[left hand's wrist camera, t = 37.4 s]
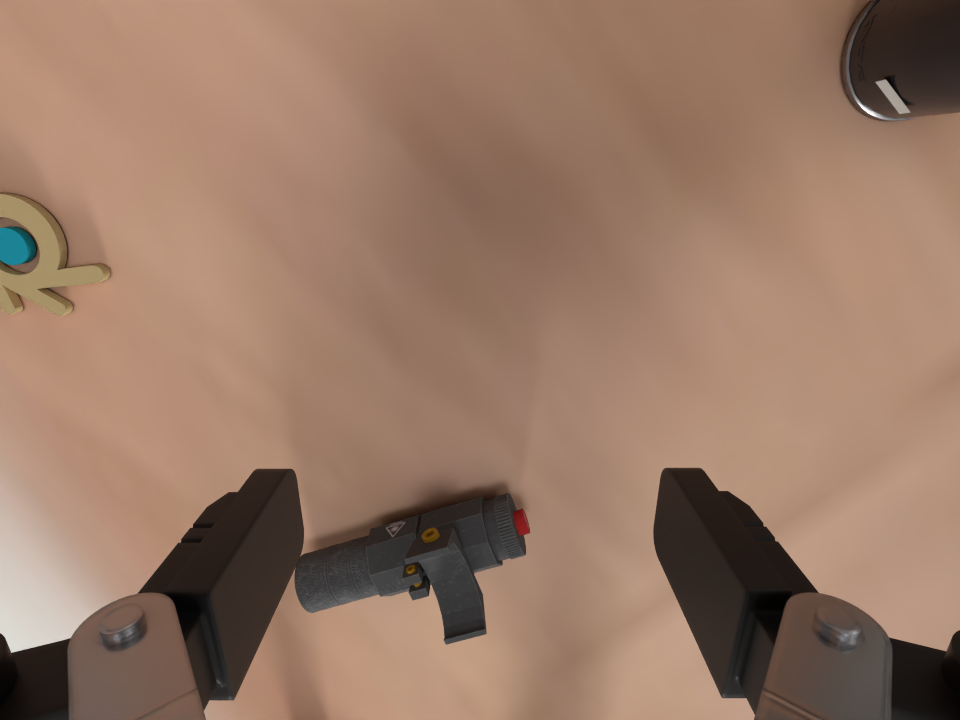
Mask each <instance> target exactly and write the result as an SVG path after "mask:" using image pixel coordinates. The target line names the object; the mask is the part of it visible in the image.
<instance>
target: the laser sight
mask: <svg viewBox="0 0 960 720" xmlns="http://www.w3.org/2000/svg"><path fill="white" fill-rule="evenodd" d="M529 533H530V528H529V524H528V520H527V517H526V514H525V511H524V509H520V510H516V507H515V504H514V502H513V500H512V498H511V496H510V494H509V493H507V494H503V495H500V496H496V497H494V499H491V500H488V501H487V500H486V499H484V498H483V497H478V498H475V499H471V500H468V501H464V502H461V503H458V504H454V505H451V506H447V507H444V508H441V509H437V510H434V511H430V512H427V513H424V514H420V515H417V516H413V517H410V518H407V519H403V520H400V521H396V522H393V523H390V524H386V525H383V526H379V527H376V528H373V529H371V530H370V534H369V536H365V537H361V538H357V539H354V540H351V541H348V542H345V543H341V544H337V545H333V546H331V547H328V548H324V549H321V550H317V551H314V552H310V553H306V554H303V555H302V556H301V557H300V558H299V561H298V563H297V565H296V569H295V588H296V593H297V596H298V599H299V601H300V603H301V605H302V607H303V608H304V609H305V610H306V611H308V612H310V613H314V612H317V611H320V610H324V609H328V608H331V607H335V606H339V605H343V604H346V603H350V602H353V601H356V600H360V599H364V598H368V597H372V596H375V595H378V594H379V595H380V596H392V595H396V594H400V593H403V592H407V591H409V594H410V596H411V598H412V600H416V599H420V598H423V597H427V596H429V591H430V585H432V587H433V590H434V592H435V595H436V597H437V600H438V603H439V607H440V610H441V614H442V619H443V625H444V636H445V638H444V642H445V644H450V643H454V642H458V641H462V640H465V639H469V638H473V637H477V636H481V635H485V634H487V633H486V623H485V613H484V602H483V594H482V592H481V589H480V587H479V585H478V583H477V580H476V578H475V576H474V573H476V572H479V571H483V570H486V569H490V568H494V567H497V566H501V565H503V563H502V560H505V559H509V558H510V559H514V558H517V557H521V556H525V555H526V546H525V539H524V535H525V534H529Z"/></svg>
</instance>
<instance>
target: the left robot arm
mask: <svg viewBox="0 0 960 720" xmlns="http://www.w3.org/2000/svg"><path fill="white" fill-rule="evenodd" d="M841 72H842V81H843V85H844V89H845V91H846V94H847V96H848V98H849V100H850V101H851V102H852V104H853V105H854V106H855V107H856V108H857V109H858V110H859V111H860V112H861V113H863V114H864V115H866V116H868V117H870V118H873V119H876V120H880V121H899V120H907V119H912V118H915V117H922V116H930V115H941V114H950V113H958V112H960V0H872V1H871V2H870V3H869V4H868V5H867V6H866V7H865V8H864V10H863V11H862V12H861V13H860V15H859V16H858V18H857V19H856V21H855V23H854V24H853V26H852V28H851V30H850V32H849V35H848V37H847V40H846V43H845V46H844V50H843V55H842V65H841ZM653 533H654V545H655V550H656V553H657V556H658V559H659V561H660V563H661V565H662V568H663V570H664V572H665V574H666V576H667V579H668V581H669V583H670V585H671V587H672V589H673V592H674V594H675V596H676V598H677V600H678V603H679V605H680V607H681V609H682V611H683V614H684V616H685V618H686V620H687V622H688V625H689V627H690V629H691V631H692V633H693V635H694V638H695V640H696V642H697V644H698V646H699V649H700V651H701V653H702V655H703V657H704V660H705V662H706V664H707V666H708V668H709V671H710V673H711V675H712V677H713V679H714V681H715V684H716V686H717V688H718V690H719V692H720V695H721V697H722V698H747V700H748V702H749V704H750V706H751V708H752V710H753V712H754V714H755V718H754V720H960V630H959V631H957V632H956V633H955V634H954V635H953V637H952V639H951V642H950V644H949V647H948V649H947V651H942V650H938V649H934V648H930V647H925V646H921V645H917V644H913V643H909V642H905V641H901V640H897V639H892V638H889V637H888V635H887V634H886V632H885V631H884V630H883V628H882V627H881V626H880V625H879V624H878V623H877V622H876V621H875V620H874V619H873V618H872V617H870V616H869V615H868V614H867V613H865V612H864V611H862V610H861V609H859V608H857V607H856V606H854V605H852V604H850V603H848V602H846V601H844V600H841V599H839V598H836V597H833V596H829V595H825V594H820V593H818V591H817V590H816V589H815V588H814V586H813V585H812V584H811V583H810V581H809V580H808V579H807V578H806V576H805V575H804V574H803V573H802V571H801V570H800V569H799V567H798V566H797V565H796V564H795V562H794V561H793V560H792V559H791V557H790V556H789V555H788V554H787V552H786V551H785V550H784V549H783V547H782V546H781V545H780V544H779V542H775V537H774V536H773V535H772V534H771V532H770V531H769V530H768V529H767V527H764V526H763V522H762V521H761V520H760V519H759V517H758V516H757V515H756V514H755V512H754V511H753V510H752V509H751V507H750V506H749V505H747V504H746V503H744V502H743V501H741V500H740V499H739V498H737V497H736V496H734V495H733V494H731V493H730V492H728V491H718V489H717V488H716V487H715V485H714V484H713V483H712V481H711V480H710V478H709V477H708V476H707V474H706V473H705V472H704V471H703V470H702V469H701V468H665V469H664V470H663V471H662V474H661V478H660V485H659V492H658V499H657V507H656V514H655V521H654V532H653ZM303 541H304V527H303V520H302V512H301V505H300V498H299V491H298V484H297V478H296V474H295V472H294V470H293V469H256V470H254V471H253V473H252V474H251V475H250V477H249V478H248V479H247V481H246V482H245V483H244V485H243V486H242V487H241V489H240V490H239V491H238V492H229V493H227V494H226V495H224V496H223V497H221V498H220V499H218V500H217V501H215V502H214V503H212V504H211V505H210V506H208V507H207V508H206V509H205V510H204V512H203V513H202V514H201V515H200V517H199V518H198V519H197V520H196V522H195V523H194V524H193V528H190V529H189V530H188V532H187V533H186V534H185V535H184V537H183V538H182V539H181V543H178V544H177V545H176V546H175V548H174V549H173V550H172V551H171V553H170V554H169V555H168V556H167V558H166V559H165V560H164V561H163V563H162V564H161V565H160V566H159V568H158V569H157V570H156V571H155V573H154V574H153V575H152V576H151V578H150V579H149V580H148V581H147V583H146V584H145V585H144V586H143V588H142V589H141V590H140V591H139V592H138V594H135V595H131V596H127V597H124V598H121V599H119V600H116V601H114V602H112V603H110V604H108V605H106V606H104V607H103V608H101V609H99V610H98V611H96V612H95V613H93V614H92V615H91V616H90V617H88V618H87V619H86V620H85V621H84V622H83V623H82V624H81V625H80V626H79V627H78V628H77V630H76V631H75V632H74V634H73V635H72V637H71V638H70V639H66V640H63V641H59V642H55V643H51V644H46V645H42V646H38V647H34V648H30V649H26V650H22V651H18V652H13V653H11V651H10V649H9V646H8V644H7V642H6V639H5V637H4V636H3V635H2V634H0V720H206V718H205V714H204V710H205V708H206V706H207V704H208V702H209V700H234V699H235V697H236V695H237V693H238V690H239V688H240V686H241V684H242V682H243V680H244V677H245V675H246V673H247V671H248V669H249V667H250V664H251V662H252V660H253V658H254V656H255V654H256V651H257V649H258V647H259V645H260V643H261V641H262V638H263V636H264V634H265V632H266V630H267V628H268V625H269V623H270V621H271V619H272V617H273V615H274V612H275V610H276V608H277V606H278V604H279V602H280V600H281V597H282V595H283V593H284V591H285V589H286V587H287V584H288V582H289V580H290V578H291V576H292V574H293V571H294V569H295V567H296V565H297V563H298V561H299V558H300V555H301V552H302V548H303Z"/></svg>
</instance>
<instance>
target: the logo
mask: <svg viewBox="0 0 960 720" xmlns="http://www.w3.org/2000/svg"><path fill="white" fill-rule="evenodd" d="M1 217H6V218H10V219H13V220H15V221H17V222H19V223H21V224H22V225H23V226H25V227H26V228H27V229H28V230H29V231H30V232H31V233H32V235H33V236H34V237H35V239H36V241H37V243H38V246H39V250H40V260H39V263H38V265H37V267H36V268H35V269H34V270H33V271H32V272H30V273H21V272H17V271H15V270H12V269H11V268H9V267H7V266H6V265H4V264H3V263H2V262H4V263H6V264H10V265H18V264H23V263H27V262H29V261H31V260H32V259H33V258H34V256H35V253H36V247H35V243H34V241H33V239H32V238H31V236H30V235H29V234H28V233H27V232H26V231H24V230H22V229H21V228H18V227H5V228H0V260H1V261H2V262H1V261H0V307H1V309H2V310H3V311H4V312H5V313H7V314H14V313H17V312H20V311H22V309H23V305H22V303H21V301H20V299H19V297H18V295H17V293H18V294H19V295H21V296H23V297H25V298H26V299H28V300H30V301H32V302H34V303H35V304H37V305H39V306H41V307H43V308H44V309H46V310H48V311H50V312H51V313H53V314H55V315H57V316H62V315H65V314H67V313H70V312H71V311H72V309H73V306H72V303H71V302H69V301H68V300H66V299H64V298H63V297H61V296H59V295H57V294H55V293H54V292H52V291H50V290H49V289H47V288H49V287H60V286H73V285H84V284H92V283H98V282H101V281H105V280H107V279H108V278H109V276H110V270H109V268H108V267H106V266H105V265H103V264H92V265H83V266H75V267H69V268H65V265H66V261H67V246H66V241H65V238H64V235H63V232H62V230H61V228H60V226H59V225H58V223H57V222H56V221H55V219H54V218H53V217H52V216H51V215H50V213H49V212H48V211H47V210H45V209H44V208H43V207H42V206H40V205H39V204H37V203H36V202H34V201H32V200H31V199H28V198H26V197H23V196H20V195H16V194H10V193H0V218H1Z"/></svg>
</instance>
